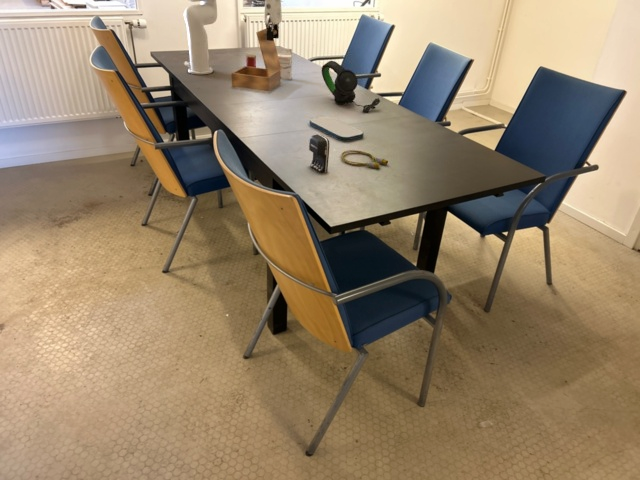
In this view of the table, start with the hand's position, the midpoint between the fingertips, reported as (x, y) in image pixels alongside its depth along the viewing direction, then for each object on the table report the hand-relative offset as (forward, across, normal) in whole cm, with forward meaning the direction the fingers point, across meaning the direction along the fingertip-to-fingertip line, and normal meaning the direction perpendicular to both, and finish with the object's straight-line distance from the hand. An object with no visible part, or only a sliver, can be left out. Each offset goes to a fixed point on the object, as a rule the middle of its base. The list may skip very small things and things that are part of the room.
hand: (272, 38), depth 225 cm
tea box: (+23, 0, +9) cm, 24 cm away
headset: (+23, -9, -39) cm, 46 cm away
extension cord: (+24, -69, -59) cm, 94 cm away
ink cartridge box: (+23, +19, +2) cm, 30 cm away
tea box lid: (+6, 0, +2) cm, 6 cm away
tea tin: (+22, +13, +17) cm, 31 cm away
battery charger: (+24, -82, -47) cm, 97 cm away
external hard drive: (+24, -44, -43) cm, 66 cm away
